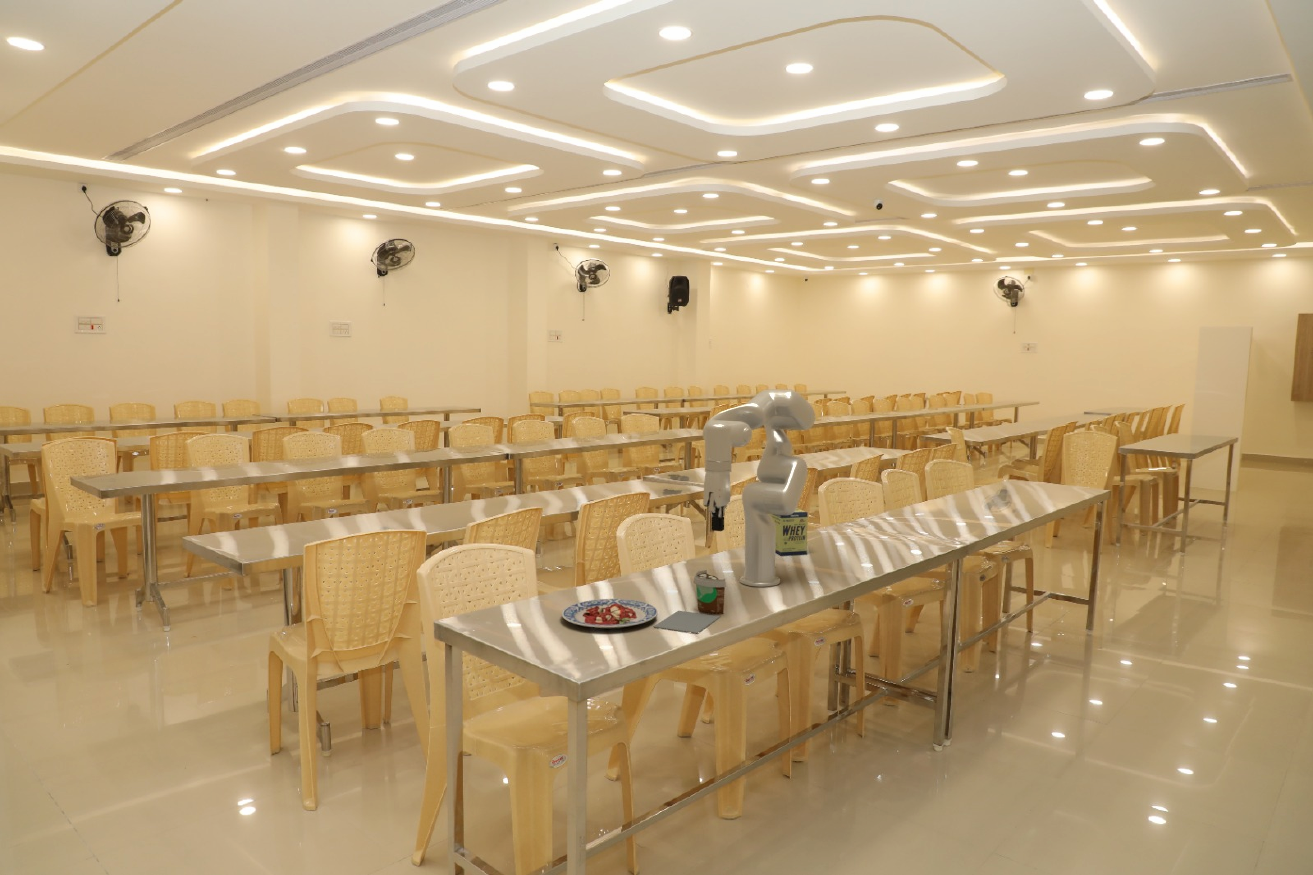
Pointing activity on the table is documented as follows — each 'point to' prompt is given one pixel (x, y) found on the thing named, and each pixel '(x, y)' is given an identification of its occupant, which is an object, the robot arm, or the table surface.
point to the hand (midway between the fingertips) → (717, 530)
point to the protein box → (791, 533)
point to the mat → (687, 622)
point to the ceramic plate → (609, 613)
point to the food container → (709, 593)
